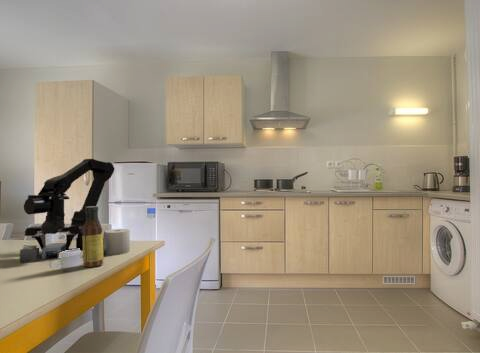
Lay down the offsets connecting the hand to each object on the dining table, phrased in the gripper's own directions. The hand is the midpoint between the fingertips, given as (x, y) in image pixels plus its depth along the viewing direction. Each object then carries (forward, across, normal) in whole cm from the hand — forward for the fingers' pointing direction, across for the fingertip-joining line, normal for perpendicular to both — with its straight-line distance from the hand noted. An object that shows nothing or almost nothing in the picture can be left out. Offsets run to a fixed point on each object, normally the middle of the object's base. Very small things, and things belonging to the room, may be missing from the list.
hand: (55, 252), depth 118 cm
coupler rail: (+1, -6, -1) cm, 7 cm away
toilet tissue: (+2, +21, -1) cm, 21 cm away
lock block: (+1, 0, 0) cm, 1 cm away
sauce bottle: (+2, +16, -18) cm, 25 cm away
